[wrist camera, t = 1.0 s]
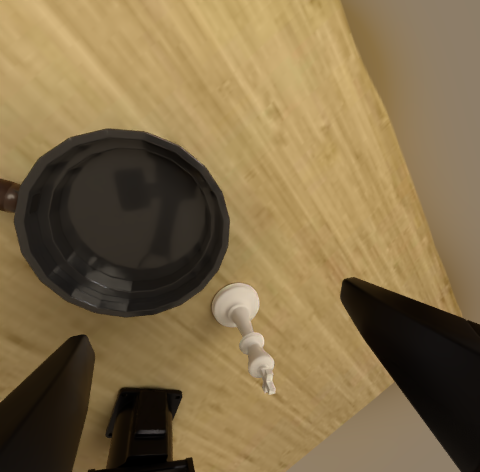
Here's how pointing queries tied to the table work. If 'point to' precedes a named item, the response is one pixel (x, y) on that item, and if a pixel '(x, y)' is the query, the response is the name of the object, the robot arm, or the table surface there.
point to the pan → (122, 223)
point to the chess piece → (245, 328)
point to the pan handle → (13, 197)
